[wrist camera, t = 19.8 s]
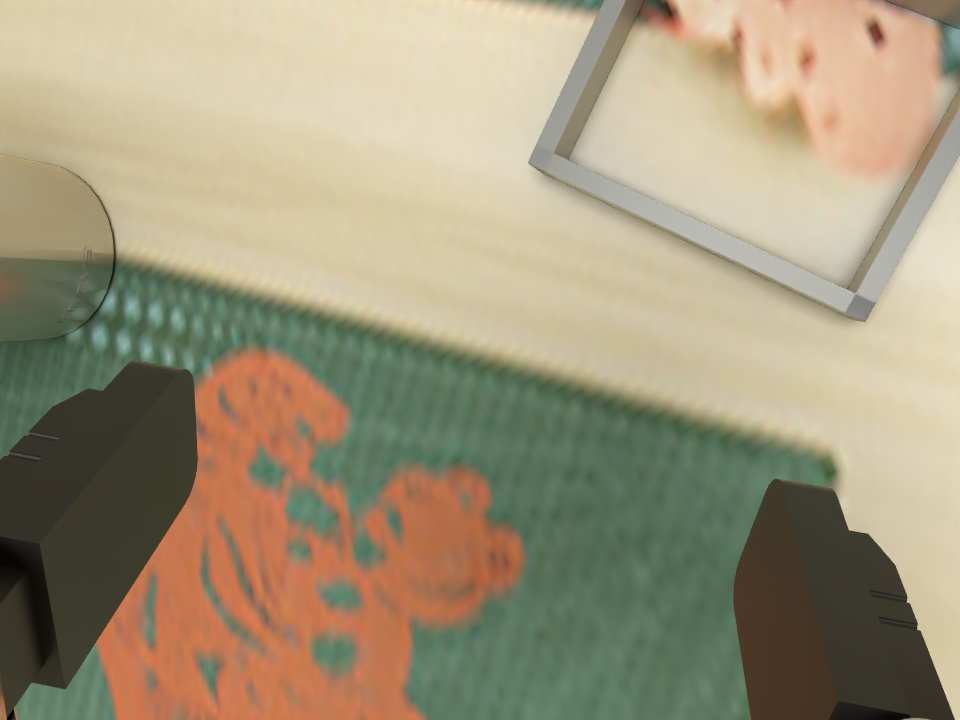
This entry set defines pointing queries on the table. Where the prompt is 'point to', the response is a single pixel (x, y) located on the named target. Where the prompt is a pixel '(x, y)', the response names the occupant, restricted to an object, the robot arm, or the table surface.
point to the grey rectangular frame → (956, 135)
